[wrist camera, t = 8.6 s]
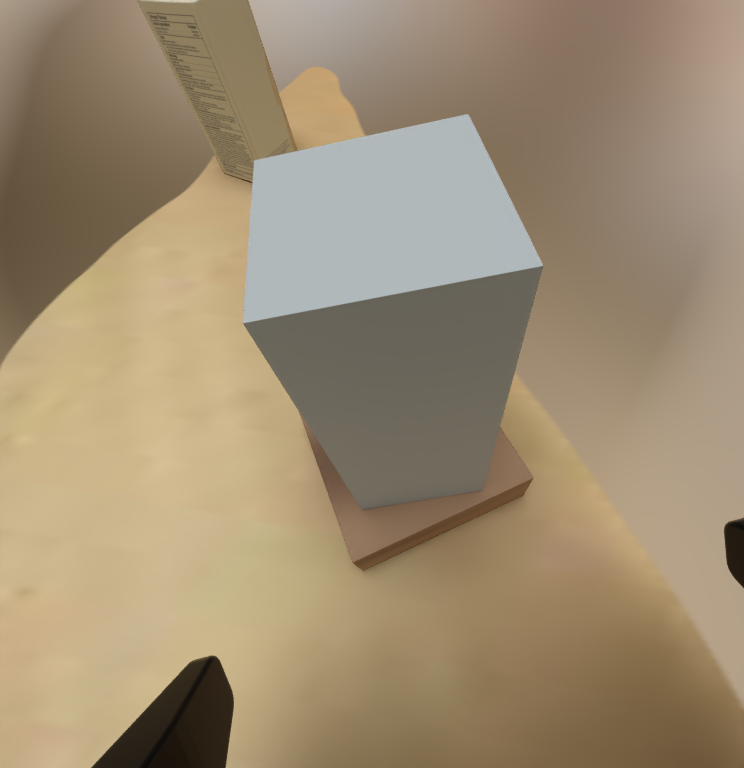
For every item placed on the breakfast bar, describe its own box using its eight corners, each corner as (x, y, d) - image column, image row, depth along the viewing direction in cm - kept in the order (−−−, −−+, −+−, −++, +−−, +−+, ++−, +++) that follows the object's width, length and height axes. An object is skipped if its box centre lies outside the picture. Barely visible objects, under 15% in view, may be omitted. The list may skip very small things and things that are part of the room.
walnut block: (521, 498, 19) (533, 477, 17) (364, 571, 19) (352, 562, 16) (442, 370, 23) (441, 338, 21) (311, 426, 23) (295, 401, 20)
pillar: (482, 490, 17) (542, 266, 7) (361, 509, 17) (243, 323, 7) (455, 387, 19) (468, 114, 9) (351, 405, 20) (254, 160, 10)
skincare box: (302, 161, 36) (246, -29, 26) (269, 190, 34) (194, 1, 24) (252, 147, 38) (182, -31, 28) (219, 174, 37) (132, -5, 27)
